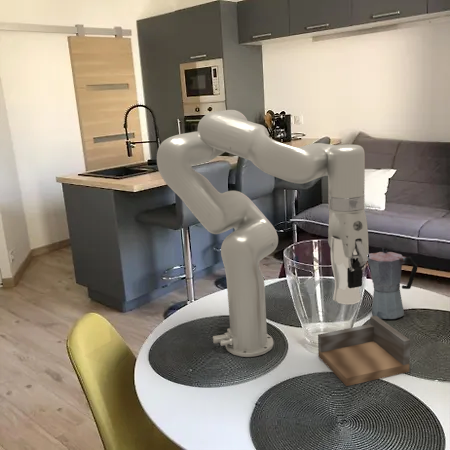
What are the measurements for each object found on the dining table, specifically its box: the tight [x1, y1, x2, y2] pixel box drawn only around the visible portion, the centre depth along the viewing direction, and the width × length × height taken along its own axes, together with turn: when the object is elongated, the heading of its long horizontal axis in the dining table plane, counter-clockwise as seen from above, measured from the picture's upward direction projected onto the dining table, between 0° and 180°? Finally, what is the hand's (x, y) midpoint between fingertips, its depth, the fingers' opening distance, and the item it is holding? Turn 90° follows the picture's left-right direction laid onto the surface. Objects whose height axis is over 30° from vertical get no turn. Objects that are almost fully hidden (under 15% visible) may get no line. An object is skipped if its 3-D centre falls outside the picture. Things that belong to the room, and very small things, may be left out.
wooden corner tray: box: [317, 315, 411, 387], centre depth 121 cm, size 16×14×8 cm
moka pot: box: [367, 246, 418, 320], centre depth 144 cm, size 10×15×20 cm, turn 54°
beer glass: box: [330, 235, 362, 306], centre depth 113 cm, size 7×7×15 cm
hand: (346, 280), depth 114 cm, fingers closed on beer glass, 6 cm apart
